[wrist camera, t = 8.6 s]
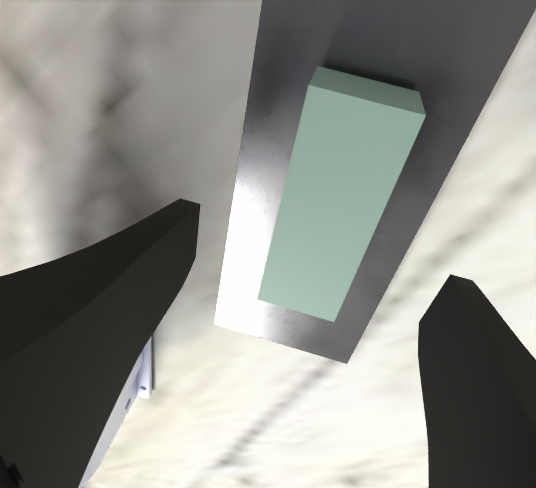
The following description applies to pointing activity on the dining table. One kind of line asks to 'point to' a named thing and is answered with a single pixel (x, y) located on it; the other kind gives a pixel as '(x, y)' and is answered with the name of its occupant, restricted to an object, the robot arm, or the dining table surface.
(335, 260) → the pale green rectangular post
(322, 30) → the rail
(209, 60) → the dining table surface
